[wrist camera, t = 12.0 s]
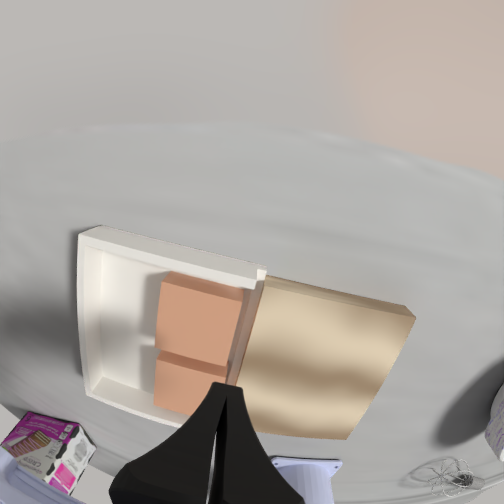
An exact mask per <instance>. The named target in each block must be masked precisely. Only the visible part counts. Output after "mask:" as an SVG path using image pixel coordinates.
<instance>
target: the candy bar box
mask: <svg viewBox="0 0 504 504" xmlns="http://www.w3.org/2000/svg"><path fill="white" fill-rule="evenodd" d="M0 446H1V447H2V448H4V449H5V450H6V451H8V452H9V453H10V454H11V455H12V456H13V457H14V458H15V459H16V461H17V463H18V465H20V466H21V467H23V468H24V469H26V470H27V471H29V472H30V473H32V474H33V475H35V476H36V477H38V478H40V479H41V480H43V481H44V482H46V483H48V484H50V485H51V486H53V487H55V488H56V489H58V490H60V491H62V492H64V493H66V494H68V495H69V496H71V493H72V492H73V490H74V488H75V486H76V485H77V483H78V481H79V479H80V477H81V475H82V474H83V472H84V470H85V468H86V466H87V465H88V463H89V461H90V459H91V457H92V456H93V454H94V452H95V450H96V446H95V445H94V443H93V442H92V441H91V439H90V438H89V436H88V435H87V433H86V432H85V431H84V429H83V428H82V427H81V425H80V424H77V423H72V422H67V421H62V420H58V419H54V418H50V417H46V416H42V415H39V414H35V413H32V412H27V413H26V414H25V415H24V416H23V418H22V419H21V420H20V421H19V422H18V424H17V425H16V426H15V427H14V428H13V430H12V431H11V432H10V433H9V435H8V436H7V437H6V438H5V440H4V441H3V442H2V443H1V445H0Z"/></svg>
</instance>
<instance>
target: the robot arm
mask: <svg viewBox="0 0 504 504" xmlns="http://www.w3.org/2000/svg"><path fill="white" fill-rule="evenodd" d="M216 431H217V433H216ZM215 435H216V447H215V461H214V473H213V479H212V485H211V490H210V496H209V501H208V504H334V500H333V494H332V488H331V482H330V478H331V477H332V476H333V475H334V474H335V473H336V471H337V470H338V469H339V468H340V467H341V466H342V464H343V463H342V461H341V460H312V459H296V458H284V457H274V458H273V459H272V460H270V459H269V457H268V456H267V454H266V452H265V451H264V449H263V447H262V445H261V443H260V441H259V439H258V437H257V435H256V433H255V430H254V428H253V425H252V423H251V420H250V417H249V414H248V411H247V407H246V403H245V399H244V393H243V389H242V387H238V386H233V385H228V384H224V383H219V382H212V384H211V387H210V389H209V391H208V393H207V395H206V396H205V398H204V399H203V401H202V402H201V404H200V405H199V406H198V408H197V409H196V411H195V412H194V413H193V414H192V415H191V416H190V418H189V419H188V420H187V421H186V422H185V423H184V424H183V425H182V426H181V427H180V428H179V429H178V430H177V431H176V432H175V433H174V434H172V435H171V436H170V437H169V438H168V439H166V440H165V441H164V442H163V443H161V444H160V445H158V446H157V447H155V448H154V449H152V450H151V451H149V452H148V453H146V454H144V455H143V456H141V457H139V458H137V459H135V460H133V461H131V462H129V463H127V464H126V465H125V466H124V467H123V468H122V469H121V470H120V471H119V472H118V474H117V475H116V476H115V478H114V480H113V482H112V484H111V486H110V488H109V495H110V498H111V500H112V503H113V504H206V499H207V490H208V482H209V473H210V466H211V459H212V452H213V446H214V439H215ZM0 504H86V503H83V502H81V501H79V500H77V499H75V498H73V497H71V496H69V495H68V494H66V493H64V492H62V491H60V490H58V489H56V488H55V487H53V486H51V485H50V484H48V483H46V482H44V481H43V480H41V479H40V478H38V477H36V476H35V475H33V474H32V473H30V472H29V471H27V470H26V469H24V468H23V467H21V466H20V465H18V463H17V461H16V459H15V458H14V457H13V456H12V455H11V454H10V453H9V452H8V451H6V450H5V449H4V448H2V447H1V446H0Z"/></svg>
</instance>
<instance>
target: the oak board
mask: <svg viewBox="0 0 504 504" xmlns="http://www.w3.org/2000/svg"><path fill="white" fill-rule="evenodd" d="M415 320H416V317H415V316H414V315H413V314H412V313H411V312H410V311H409V310H408V308H407V307H406V306H403V305H398V304H393V303H389V302H384V301H379V300H375V299H370V298H366V297H361V296H357V295H352V294H347V293H343V292H339V291H334V290H330V289H325V288H321V287H316V286H312V285H308V284H303V283H299V282H295V281H290V280H286V279H282V278H277V277H273V276H269V275H266V276H265V280H264V283H263V287H262V291H261V294H260V298H259V302H258V305H257V309H256V312H255V316H254V320H253V323H252V327H251V330H250V334H249V337H248V341H247V344H246V348H245V351H244V355H243V358H242V362H241V365H240V369H239V372H238V376H237V379H236V382H235V386H238V387H242V389H243V393H244V399H245V403H246V407H247V411H248V414H249V417H250V420H251V423H252V425H253V428H254V430H255V431H256V432H263V433H270V434H277V435H285V436H295V437H305V438H319V439H339V440H346V439H347V438H348V436H349V435H350V433H351V432H352V431H353V429H354V428H355V426H356V425H357V423H358V422H359V420H360V419H361V417H362V416H363V414H364V413H365V411H366V410H367V408H368V407H369V405H370V404H371V402H372V400H373V399H374V397H375V395H376V394H377V392H378V391H379V389H380V387H381V385H382V384H383V382H384V380H385V379H386V377H387V375H388V373H389V371H390V370H391V368H392V366H393V364H394V362H395V360H396V359H397V357H398V355H399V353H400V351H401V349H402V347H403V345H404V343H405V341H406V339H407V337H408V335H409V333H410V331H411V328H412V326H413V324H414V322H415Z"/></svg>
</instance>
